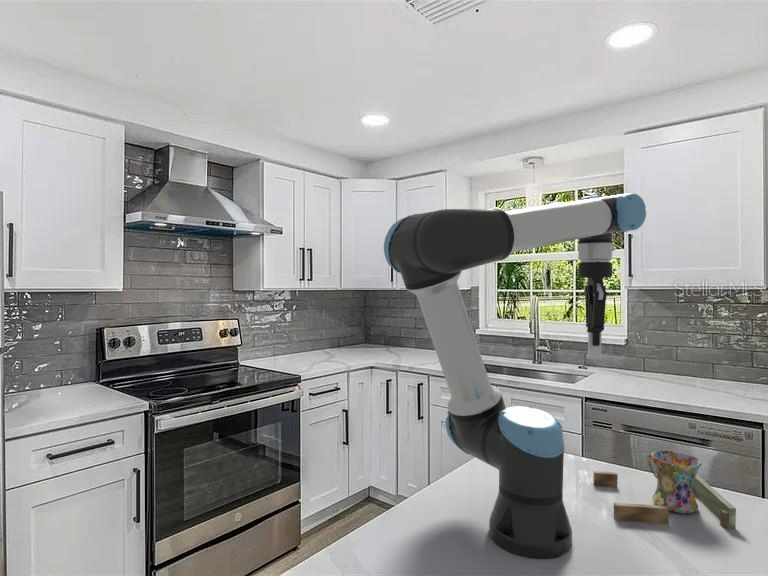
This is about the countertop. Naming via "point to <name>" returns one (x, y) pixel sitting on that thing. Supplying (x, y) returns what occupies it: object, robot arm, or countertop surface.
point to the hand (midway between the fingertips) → (594, 358)
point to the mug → (675, 480)
